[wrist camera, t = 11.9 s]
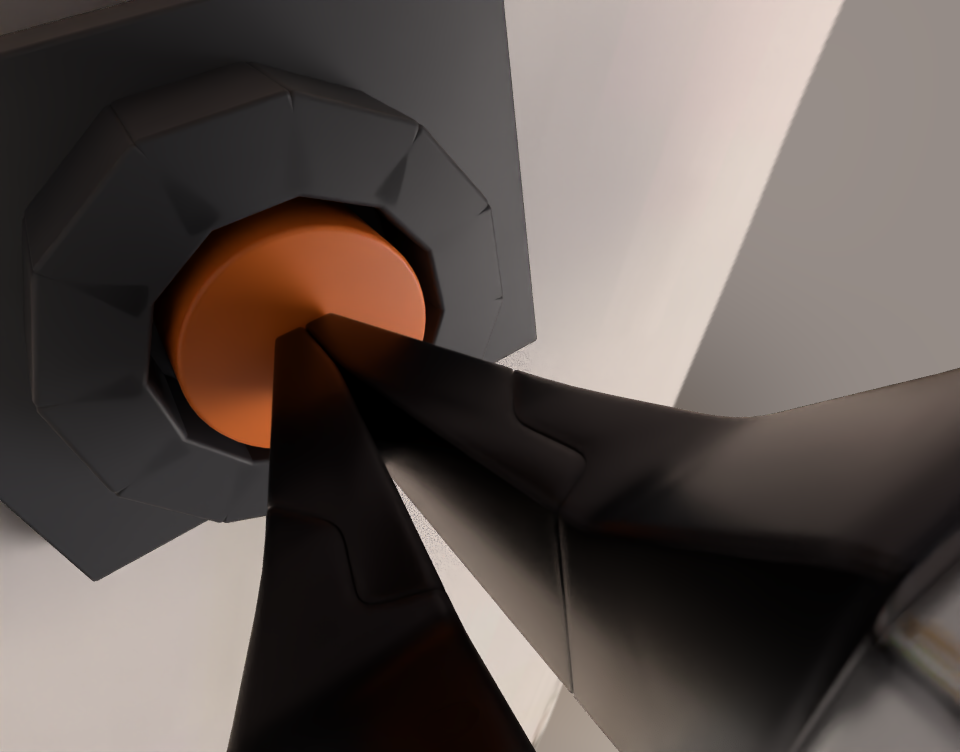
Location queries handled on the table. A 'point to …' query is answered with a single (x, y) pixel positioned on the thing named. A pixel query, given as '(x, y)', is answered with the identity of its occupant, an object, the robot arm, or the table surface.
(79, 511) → the opener housing
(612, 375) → the table surface
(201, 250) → the button
